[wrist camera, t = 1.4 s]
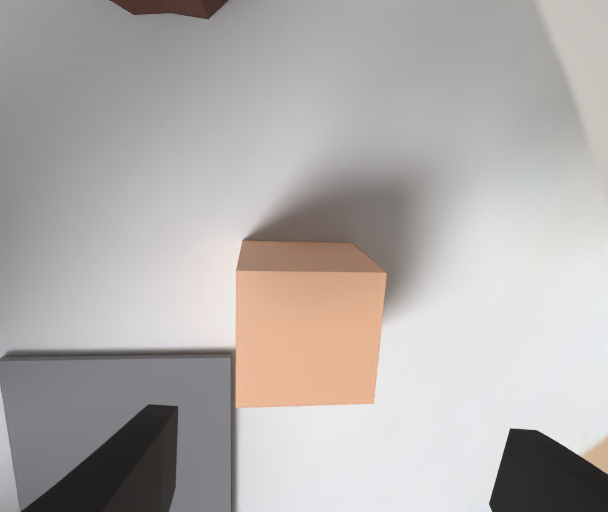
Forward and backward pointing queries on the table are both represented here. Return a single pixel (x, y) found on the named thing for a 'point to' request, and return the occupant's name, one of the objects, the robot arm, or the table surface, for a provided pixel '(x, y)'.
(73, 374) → the charcoal mat
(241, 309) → the terracotta block
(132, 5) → the muffin
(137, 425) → the robot arm
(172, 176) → the table surface
